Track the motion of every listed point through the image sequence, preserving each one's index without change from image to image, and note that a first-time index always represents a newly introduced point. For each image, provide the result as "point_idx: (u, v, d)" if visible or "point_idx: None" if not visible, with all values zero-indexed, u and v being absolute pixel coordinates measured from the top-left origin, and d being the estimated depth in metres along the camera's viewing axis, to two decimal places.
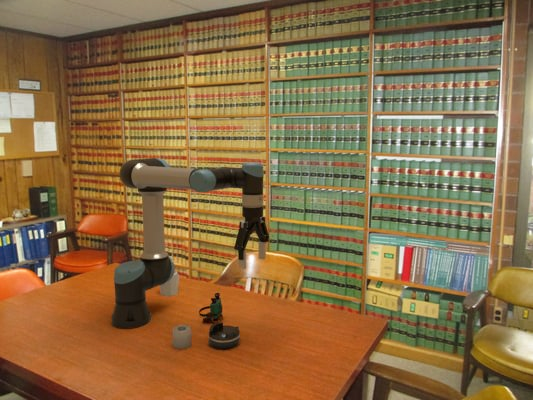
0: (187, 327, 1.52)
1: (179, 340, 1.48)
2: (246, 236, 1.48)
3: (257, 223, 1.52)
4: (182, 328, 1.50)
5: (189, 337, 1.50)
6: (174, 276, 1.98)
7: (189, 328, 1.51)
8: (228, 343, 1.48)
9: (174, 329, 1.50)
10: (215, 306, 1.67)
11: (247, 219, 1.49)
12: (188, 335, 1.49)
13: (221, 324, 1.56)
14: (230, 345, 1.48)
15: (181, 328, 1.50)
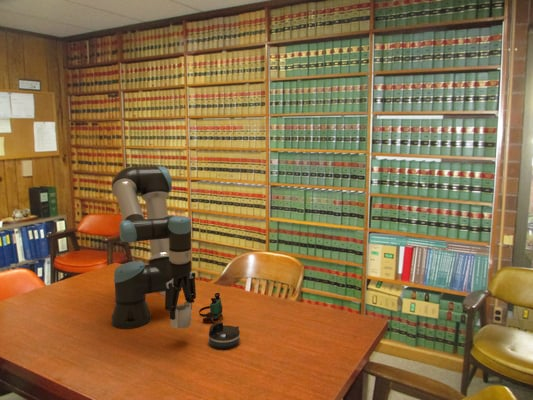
0: (187, 307, 1.51)
1: (178, 319, 1.47)
2: (175, 295, 1.46)
3: (185, 278, 1.48)
4: (182, 307, 1.50)
5: (189, 316, 1.49)
6: None
7: (189, 308, 1.50)
8: (228, 343, 1.48)
9: None
10: (215, 306, 1.67)
11: (173, 276, 1.44)
12: (188, 314, 1.48)
13: (221, 324, 1.56)
14: (230, 345, 1.48)
15: (181, 307, 1.50)
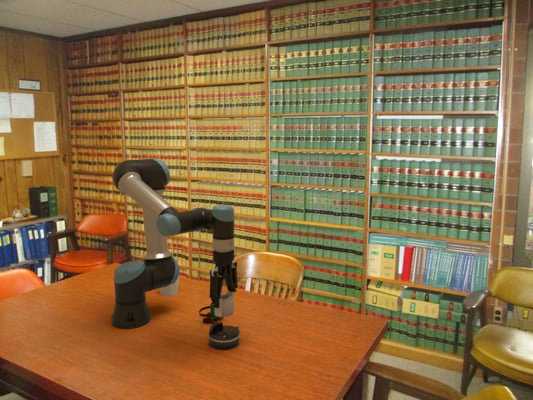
0: (229, 295, 1.52)
1: (222, 308, 1.48)
2: (219, 283, 1.46)
3: (228, 266, 1.49)
4: (225, 296, 1.50)
5: (232, 305, 1.50)
6: None
7: (232, 296, 1.51)
8: (228, 343, 1.48)
9: None
10: None
11: (217, 264, 1.46)
12: (231, 303, 1.49)
13: (221, 324, 1.56)
14: (230, 345, 1.48)
15: (224, 296, 1.50)
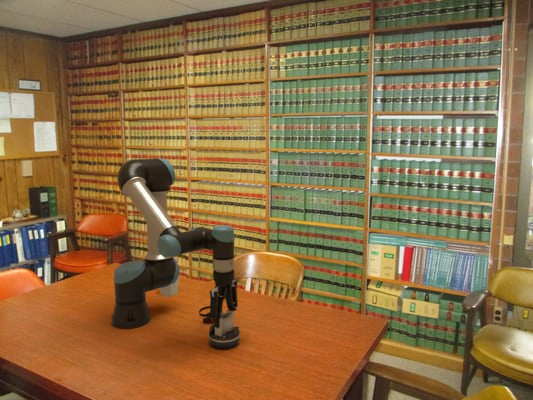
0: (230, 314, 1.53)
1: (222, 327, 1.49)
2: (219, 303, 1.48)
3: (228, 286, 1.50)
4: (225, 315, 1.51)
5: (232, 324, 1.51)
6: None
7: (232, 315, 1.52)
8: (228, 343, 1.48)
9: None
10: None
11: (217, 284, 1.47)
12: (231, 322, 1.50)
13: None
14: (230, 345, 1.48)
15: (224, 315, 1.51)
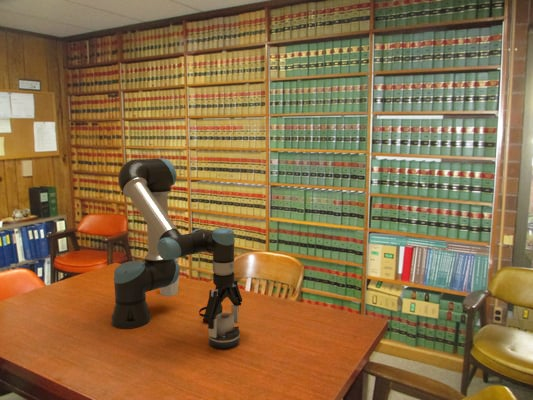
0: (230, 315, 1.53)
1: (223, 328, 1.49)
2: (216, 304, 1.46)
3: (228, 289, 1.50)
4: (225, 316, 1.51)
5: (232, 324, 1.51)
6: None
7: (232, 316, 1.52)
8: (228, 343, 1.48)
9: (217, 317, 1.51)
10: None
11: (217, 287, 1.47)
12: (231, 322, 1.50)
13: None
14: (230, 345, 1.48)
15: (224, 316, 1.51)
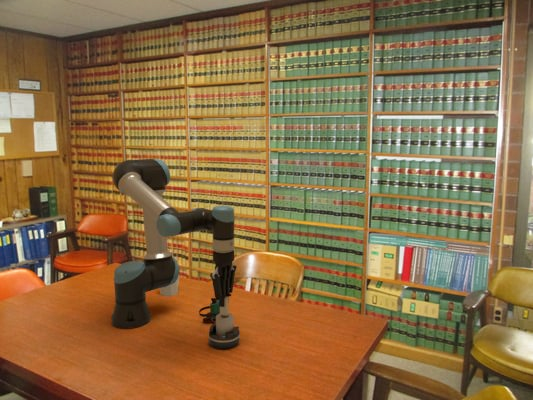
0: (230, 315, 1.53)
1: (223, 328, 1.49)
2: (222, 284, 1.48)
3: (228, 266, 1.49)
4: (225, 316, 1.51)
5: (232, 324, 1.51)
6: None
7: (232, 316, 1.52)
8: (228, 343, 1.48)
9: (217, 317, 1.51)
10: (215, 306, 1.67)
11: (217, 264, 1.46)
12: (231, 322, 1.50)
13: None
14: (230, 345, 1.48)
15: (224, 316, 1.51)
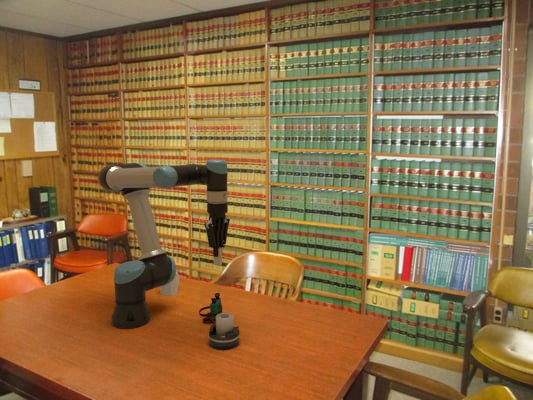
0: (230, 315, 1.53)
1: (223, 328, 1.49)
2: (215, 234, 1.54)
3: (222, 218, 1.56)
4: (225, 316, 1.51)
5: (232, 324, 1.51)
6: None
7: (232, 316, 1.52)
8: (228, 343, 1.48)
9: (217, 317, 1.51)
10: (215, 306, 1.67)
11: (211, 215, 1.52)
12: (231, 322, 1.50)
13: None
14: (230, 345, 1.48)
15: (224, 316, 1.51)
